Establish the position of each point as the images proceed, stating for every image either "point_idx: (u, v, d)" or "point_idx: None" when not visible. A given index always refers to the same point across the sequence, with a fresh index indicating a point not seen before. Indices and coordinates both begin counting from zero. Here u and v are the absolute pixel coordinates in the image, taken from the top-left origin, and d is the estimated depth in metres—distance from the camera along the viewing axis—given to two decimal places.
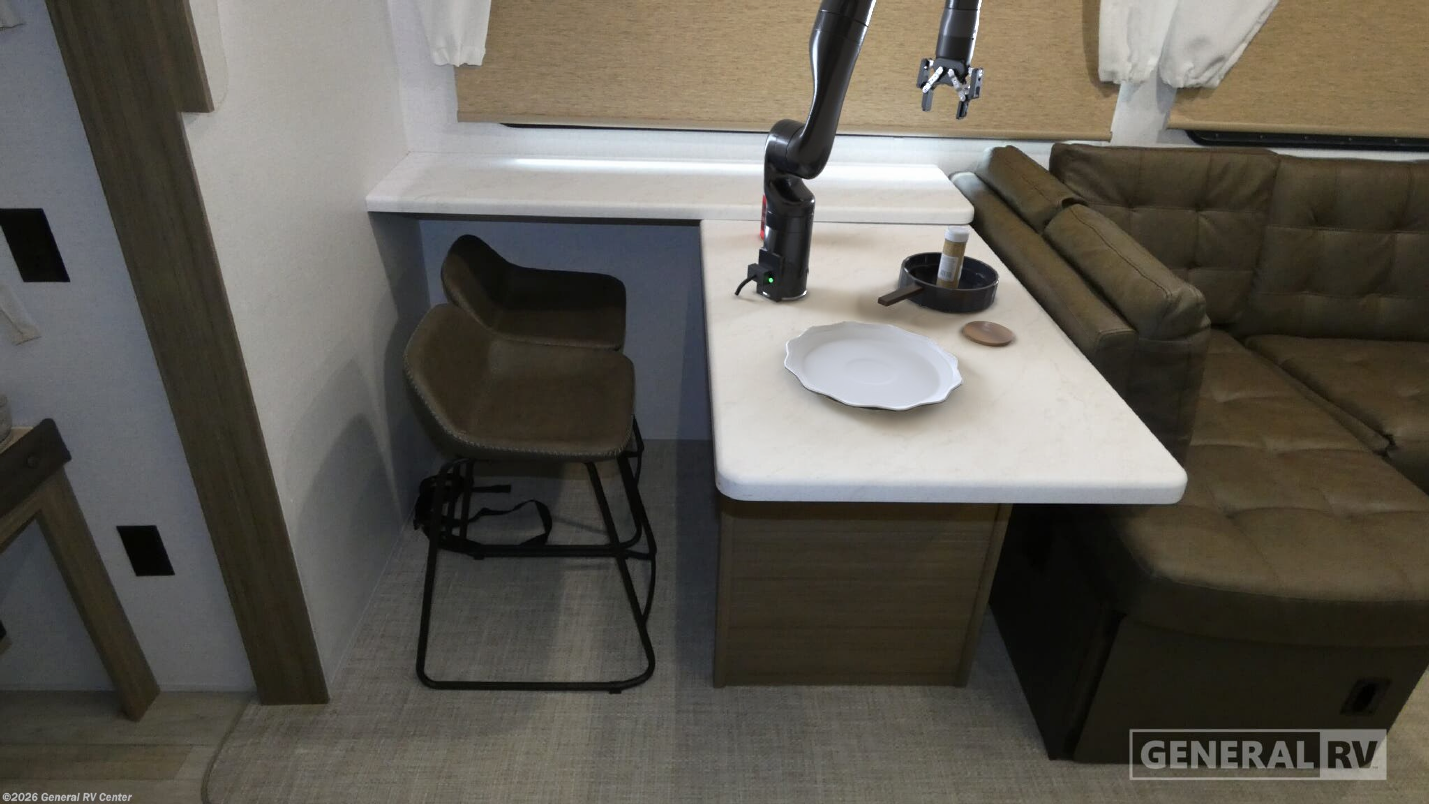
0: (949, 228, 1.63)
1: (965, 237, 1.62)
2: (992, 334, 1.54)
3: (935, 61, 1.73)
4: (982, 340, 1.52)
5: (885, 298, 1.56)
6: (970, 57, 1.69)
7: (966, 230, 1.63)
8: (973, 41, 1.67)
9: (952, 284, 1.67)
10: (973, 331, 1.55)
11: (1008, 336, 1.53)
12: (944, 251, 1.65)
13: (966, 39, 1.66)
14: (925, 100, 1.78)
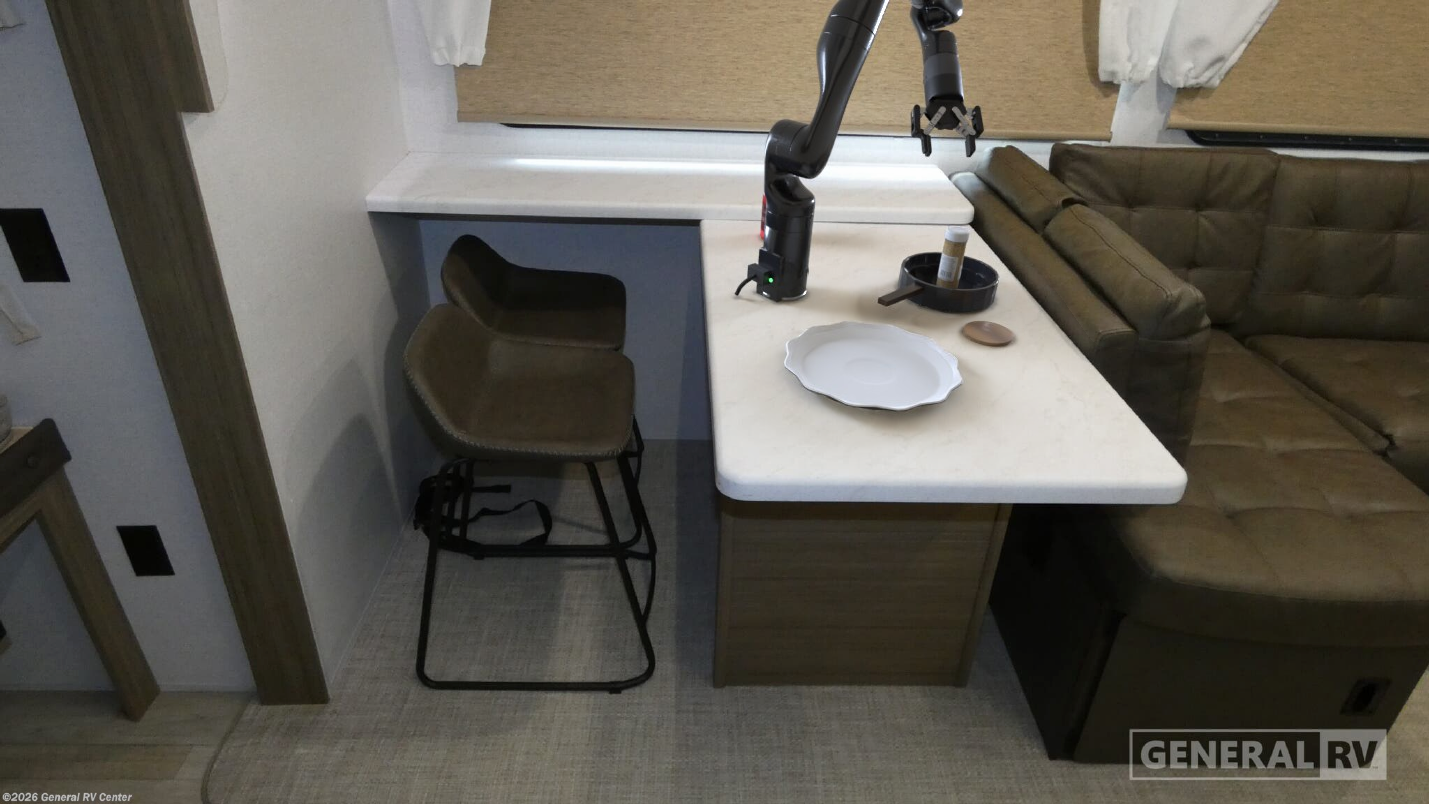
0: (949, 228, 1.63)
1: (965, 237, 1.62)
2: (992, 334, 1.54)
3: (930, 105, 1.68)
4: (982, 340, 1.52)
5: (885, 298, 1.56)
6: None
7: (966, 230, 1.63)
8: None
9: (952, 284, 1.67)
10: (973, 331, 1.55)
11: (1008, 336, 1.53)
12: (944, 251, 1.65)
13: None
14: (929, 141, 1.66)
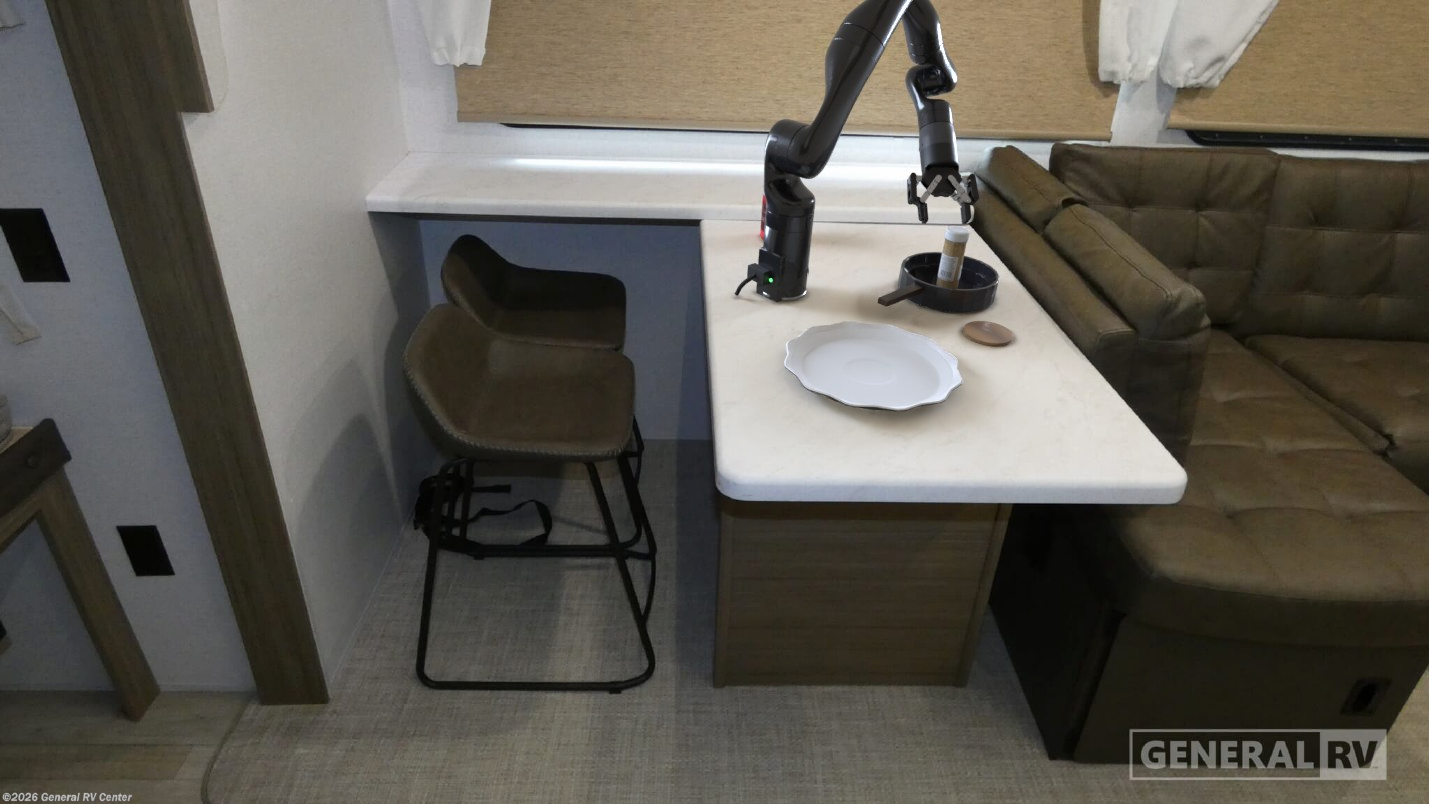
0: (949, 228, 1.63)
1: (965, 237, 1.62)
2: (992, 334, 1.54)
3: (926, 173, 1.70)
4: (982, 340, 1.52)
5: (885, 298, 1.56)
6: None
7: (966, 230, 1.63)
8: None
9: (952, 284, 1.67)
10: (973, 331, 1.55)
11: (1008, 336, 1.53)
12: (944, 251, 1.65)
13: None
14: (926, 209, 1.68)
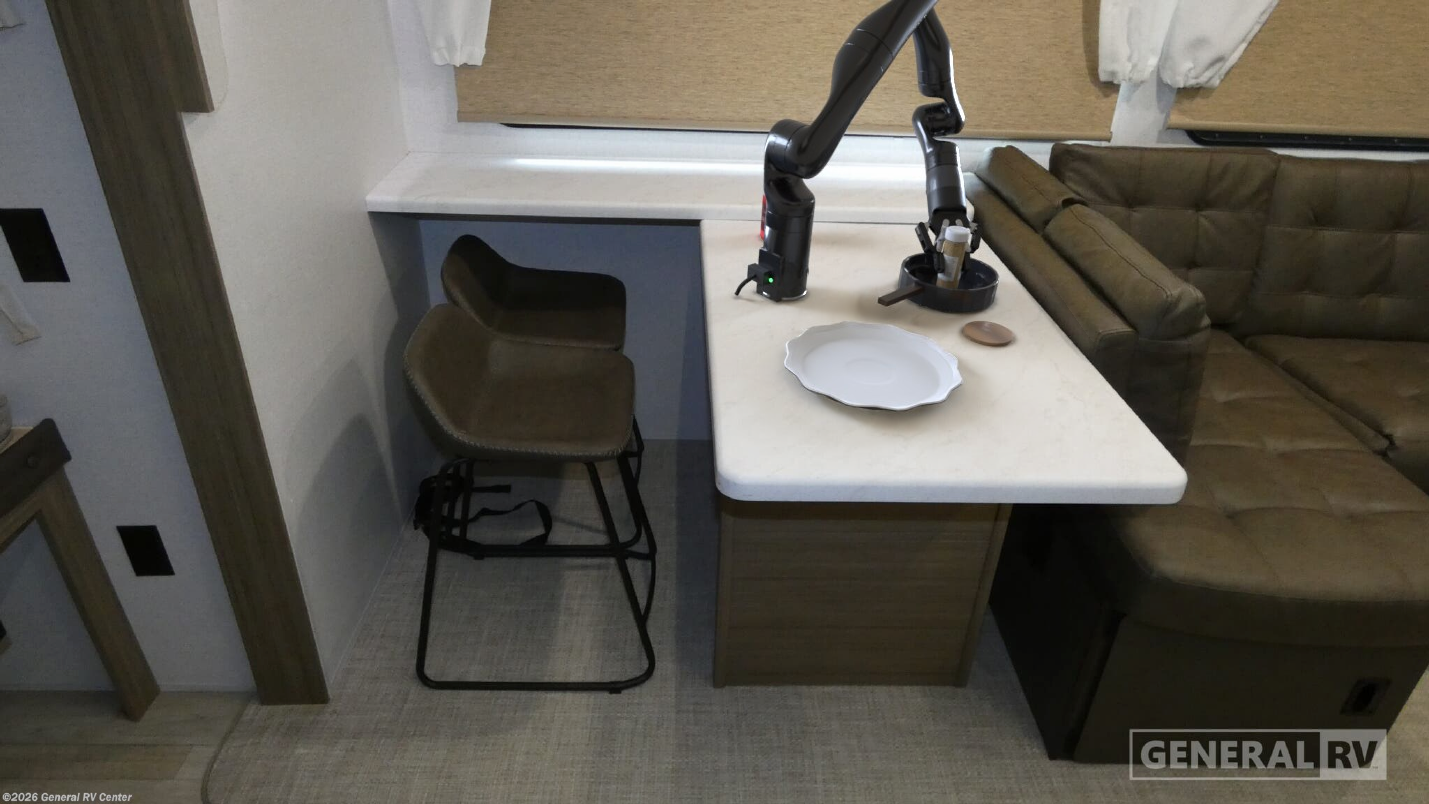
0: (949, 228, 1.63)
1: (965, 237, 1.62)
2: (992, 334, 1.54)
3: (933, 218, 1.67)
4: (982, 340, 1.52)
5: (885, 298, 1.56)
6: None
7: (966, 230, 1.63)
8: None
9: (952, 284, 1.67)
10: (973, 331, 1.55)
11: (1008, 336, 1.53)
12: (944, 251, 1.65)
13: None
14: (942, 259, 1.65)
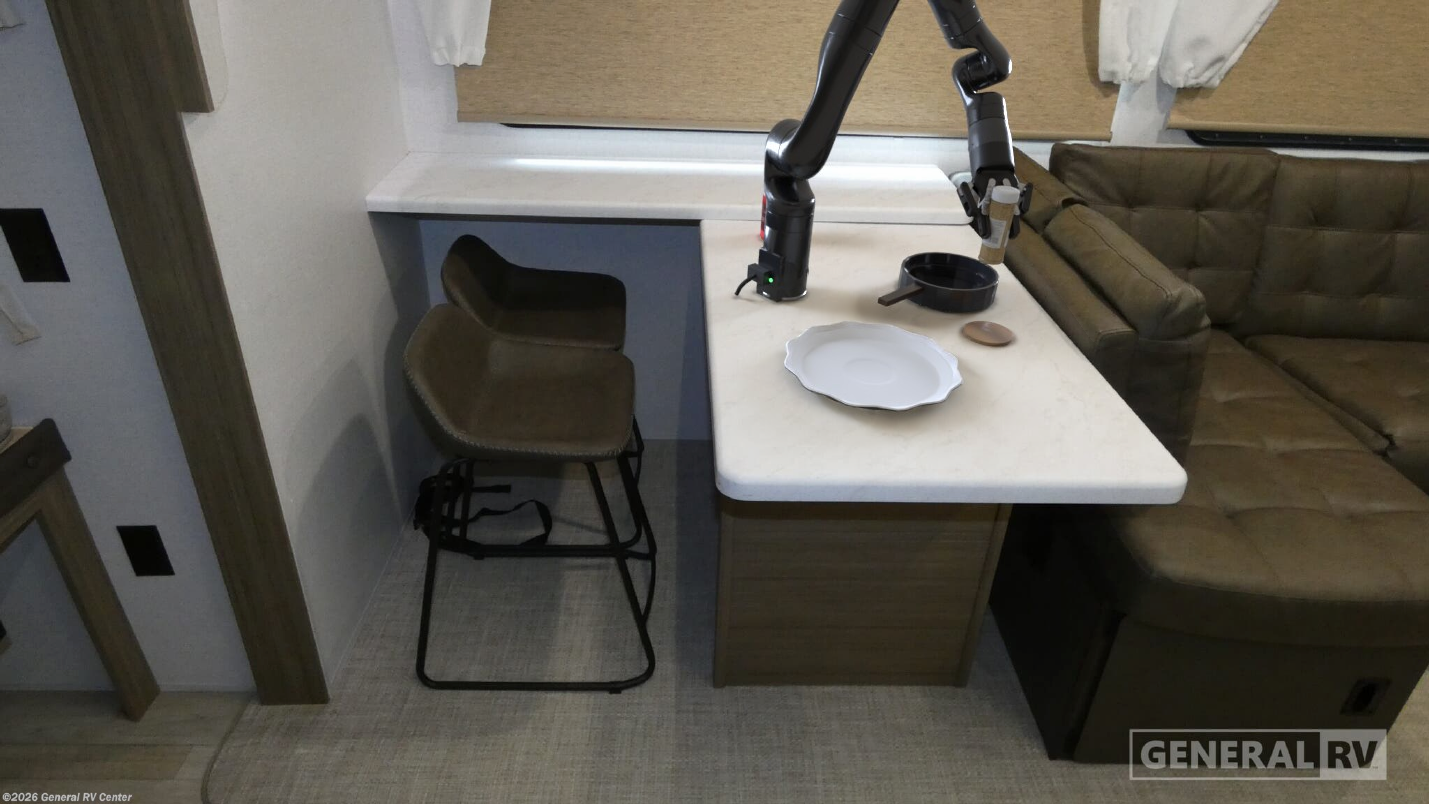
0: (996, 188, 1.46)
1: (1015, 197, 1.44)
2: (992, 334, 1.54)
3: (977, 177, 1.49)
4: (982, 340, 1.52)
5: (885, 298, 1.56)
6: None
7: (1016, 190, 1.45)
8: None
9: (998, 251, 1.49)
10: (973, 331, 1.55)
11: (1008, 336, 1.53)
12: (990, 214, 1.47)
13: (1012, 149, 1.50)
14: (988, 223, 1.47)
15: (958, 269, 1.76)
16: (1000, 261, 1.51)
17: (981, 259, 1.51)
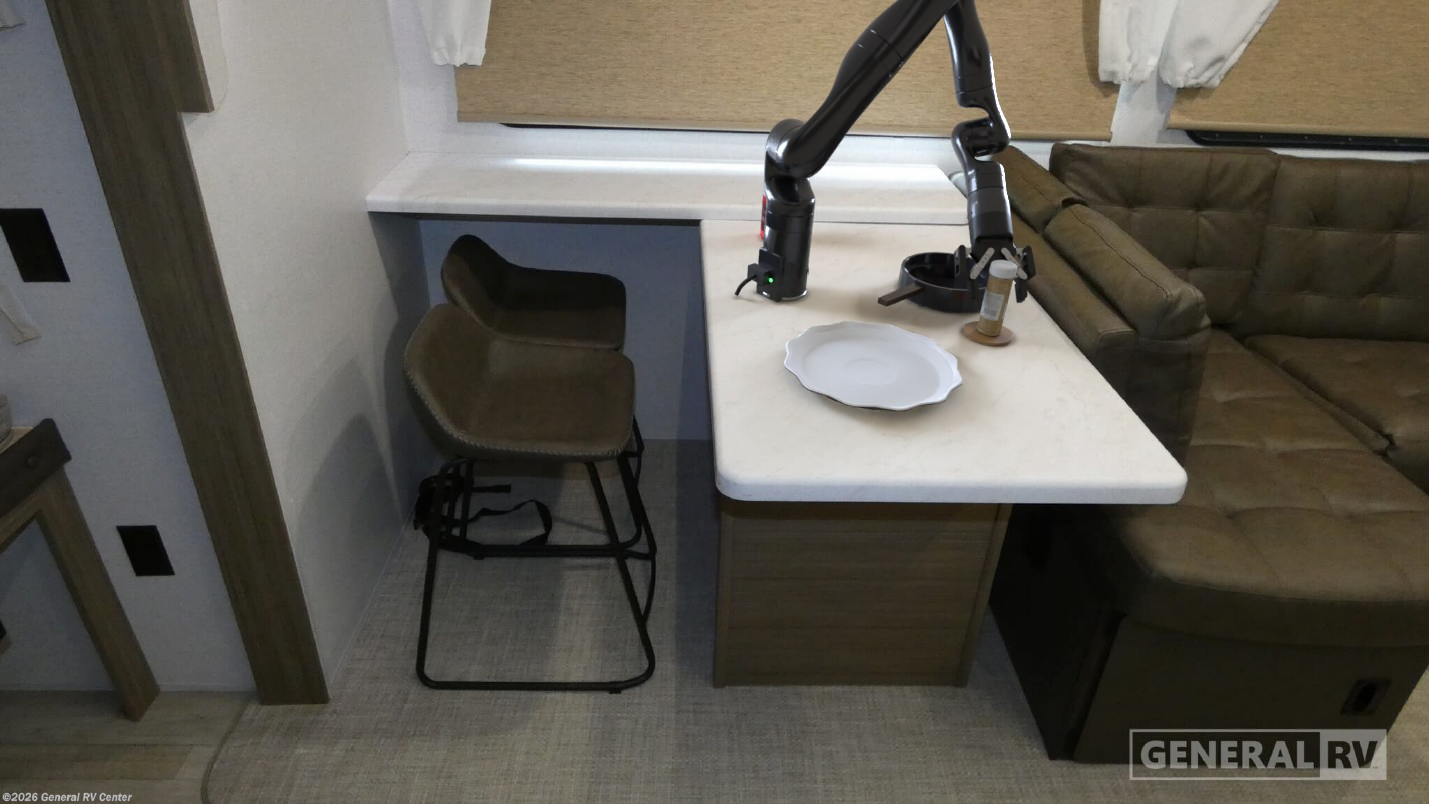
0: (994, 262, 1.48)
1: (1013, 273, 1.47)
2: None
3: (977, 245, 1.51)
4: (982, 340, 1.52)
5: (885, 298, 1.56)
6: None
7: (1013, 265, 1.47)
8: None
9: (996, 323, 1.52)
10: (973, 331, 1.55)
11: (1008, 336, 1.53)
12: (988, 287, 1.50)
13: None
14: (977, 287, 1.49)
15: None
16: (998, 332, 1.53)
17: (979, 330, 1.54)
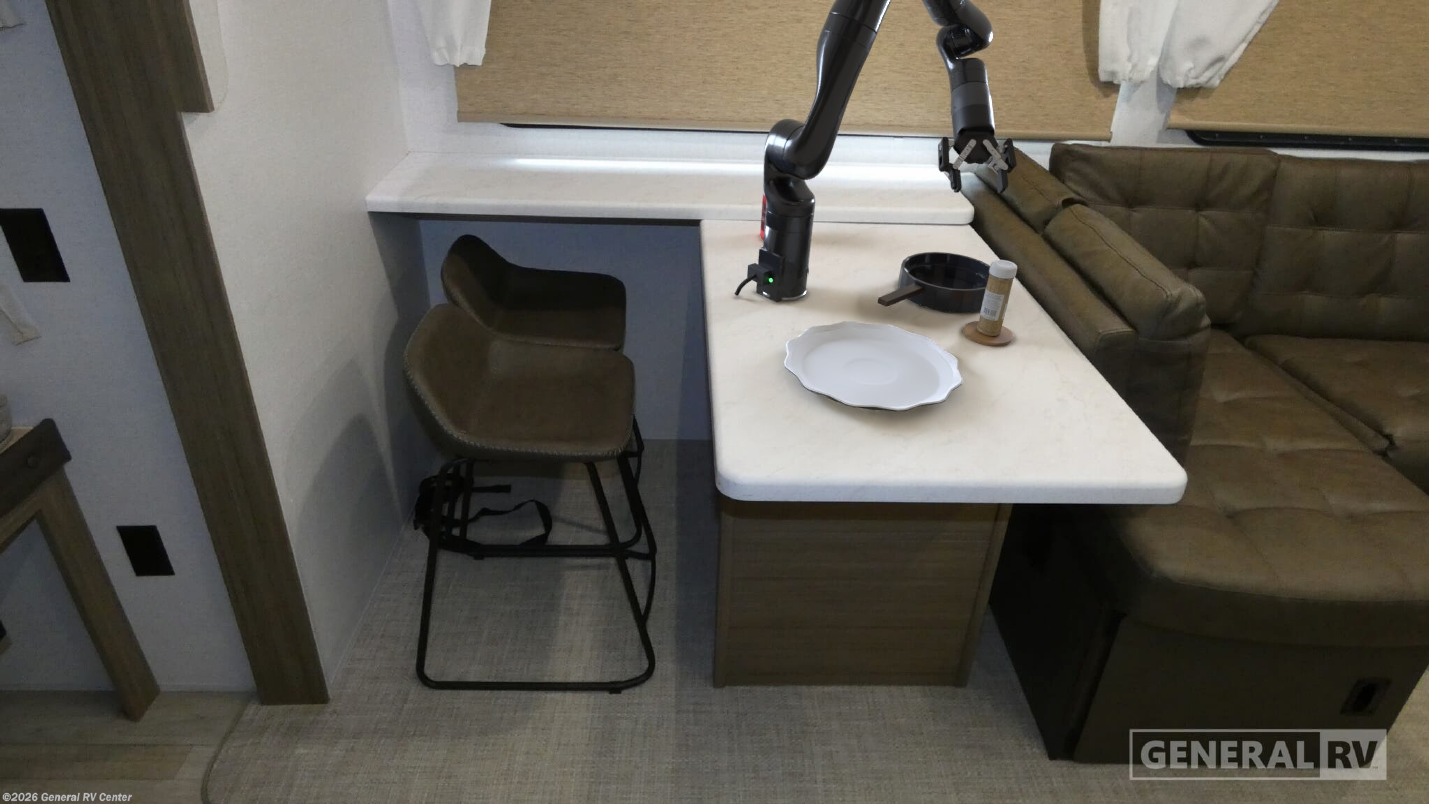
0: (994, 262, 1.48)
1: (1013, 273, 1.47)
2: None
3: (959, 138, 1.57)
4: (982, 340, 1.52)
5: (885, 298, 1.56)
6: None
7: (1013, 265, 1.47)
8: None
9: (996, 323, 1.52)
10: (973, 331, 1.55)
11: (1008, 336, 1.53)
12: (988, 287, 1.50)
13: (992, 112, 1.58)
14: (959, 176, 1.55)
15: (958, 269, 1.76)
16: (998, 332, 1.53)
17: (979, 330, 1.54)
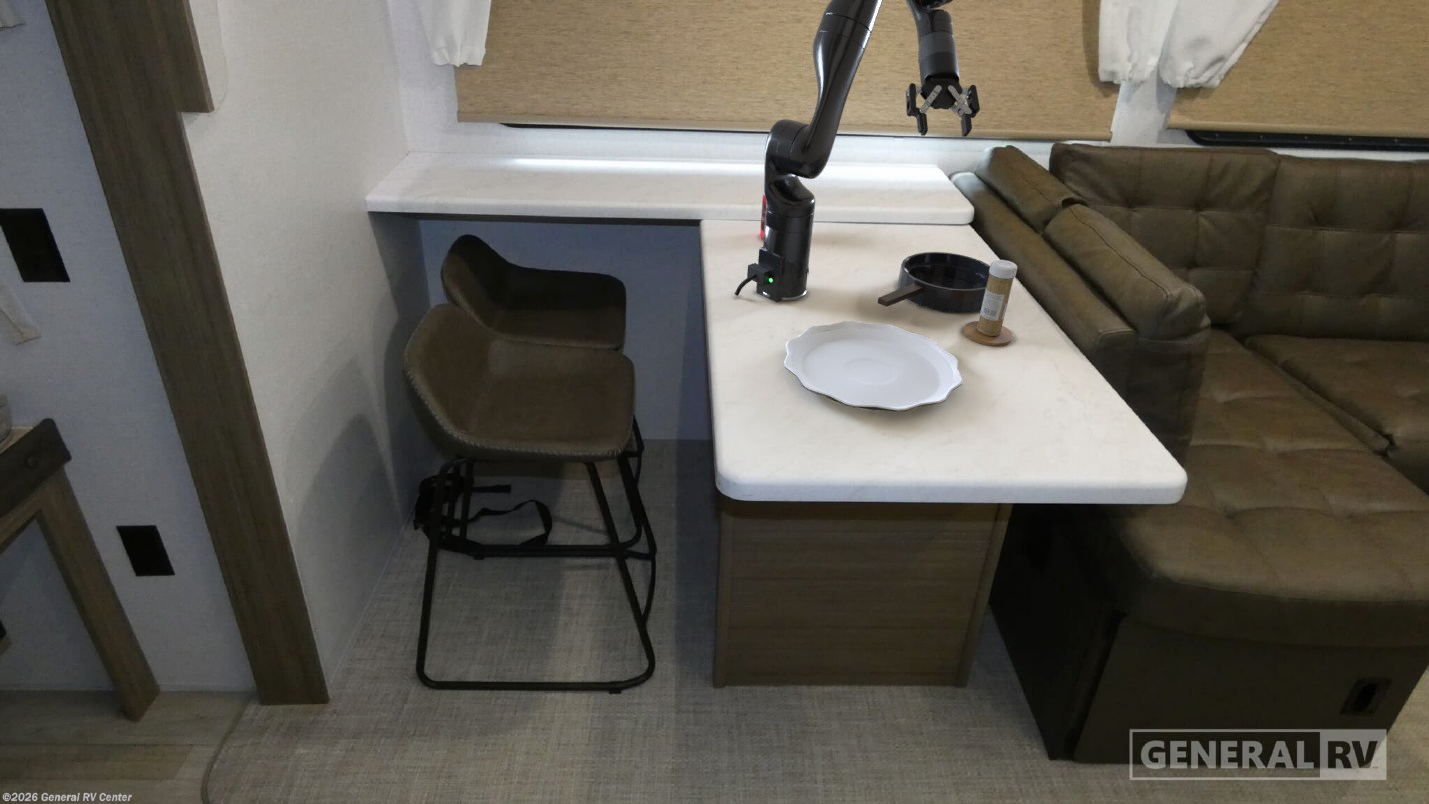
0: (994, 262, 1.48)
1: (1013, 273, 1.47)
2: None
3: (926, 84, 1.66)
4: (982, 340, 1.52)
5: (885, 298, 1.56)
6: None
7: (1013, 265, 1.47)
8: None
9: (996, 323, 1.52)
10: (973, 331, 1.55)
11: (1008, 336, 1.53)
12: (988, 287, 1.50)
13: (957, 60, 1.67)
14: (925, 120, 1.64)
15: (958, 269, 1.76)
16: (998, 332, 1.53)
17: (979, 330, 1.54)
